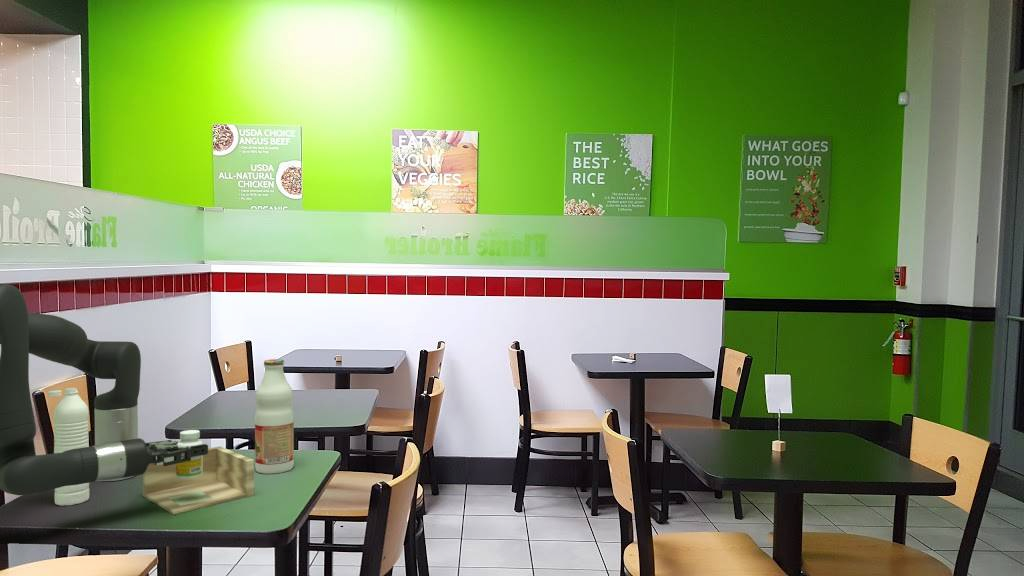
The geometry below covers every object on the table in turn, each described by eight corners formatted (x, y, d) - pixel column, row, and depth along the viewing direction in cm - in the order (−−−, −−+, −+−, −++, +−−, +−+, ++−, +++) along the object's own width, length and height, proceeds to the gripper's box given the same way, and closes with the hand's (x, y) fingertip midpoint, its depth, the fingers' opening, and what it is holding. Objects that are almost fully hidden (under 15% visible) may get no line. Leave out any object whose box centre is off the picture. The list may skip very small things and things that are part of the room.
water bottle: (71, 495, 157) (70, 385, 157) (96, 497, 156) (95, 386, 155) (38, 508, 149) (36, 391, 148) (64, 510, 147) (63, 392, 147)
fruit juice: (278, 476, 173) (278, 363, 172) (247, 472, 176) (246, 361, 175) (301, 466, 182) (300, 358, 181) (270, 462, 185) (270, 357, 184)
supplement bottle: (181, 472, 156) (181, 429, 156) (206, 472, 156) (206, 429, 156) (171, 479, 150) (172, 434, 150) (197, 479, 151) (198, 434, 151)
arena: (142, 495, 157) (142, 460, 157) (220, 479, 170) (219, 446, 170) (173, 514, 145) (172, 476, 145) (254, 495, 158) (253, 459, 158)
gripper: (130, 447, 138) (215, 434, 150) (106, 436, 148) (188, 424, 160) (130, 485, 138) (215, 469, 150) (106, 471, 148) (188, 457, 160)
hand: (201, 446), depth 155 cm, fingers closed on supplement bottle, 5 cm apart
